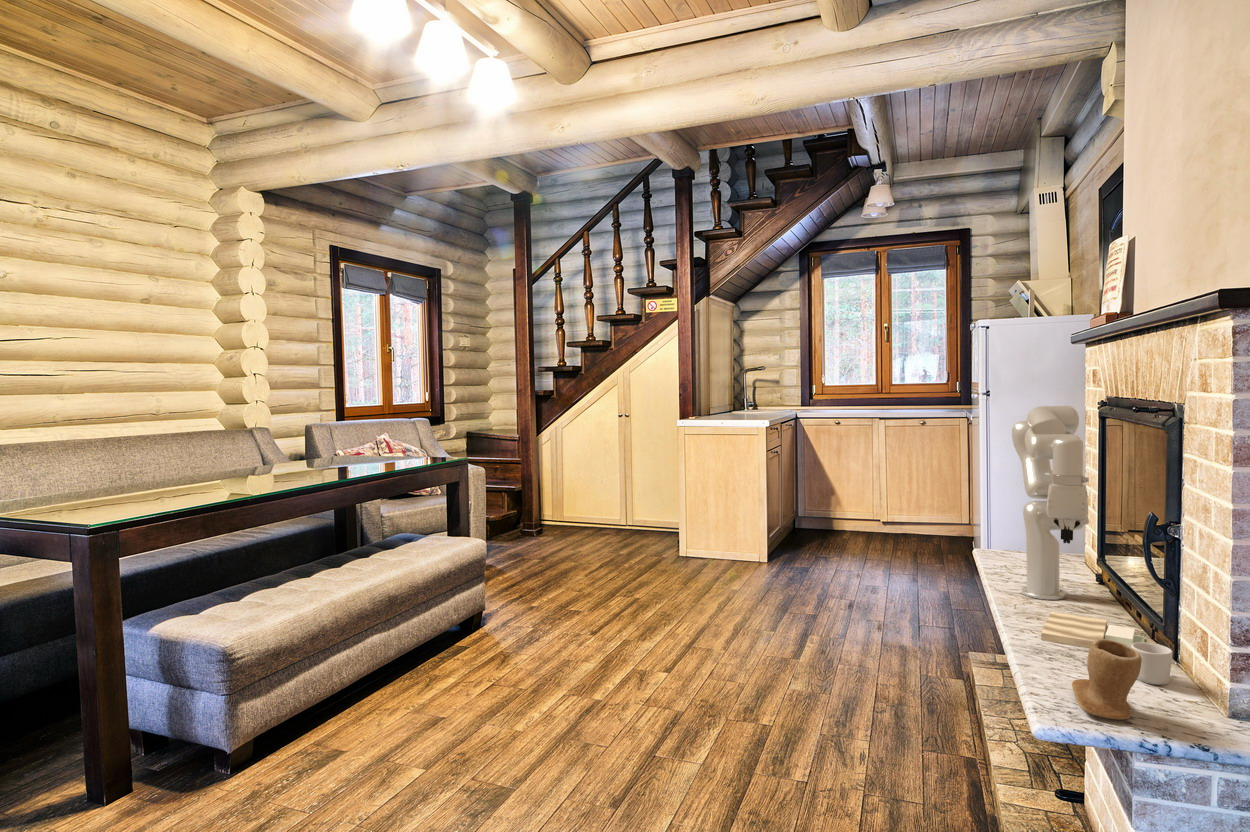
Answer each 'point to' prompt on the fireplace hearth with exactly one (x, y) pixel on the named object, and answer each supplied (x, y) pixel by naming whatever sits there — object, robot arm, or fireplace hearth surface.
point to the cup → (1154, 662)
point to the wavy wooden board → (1073, 629)
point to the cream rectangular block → (1120, 634)
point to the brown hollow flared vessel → (1108, 679)
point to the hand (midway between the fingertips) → (1066, 542)
